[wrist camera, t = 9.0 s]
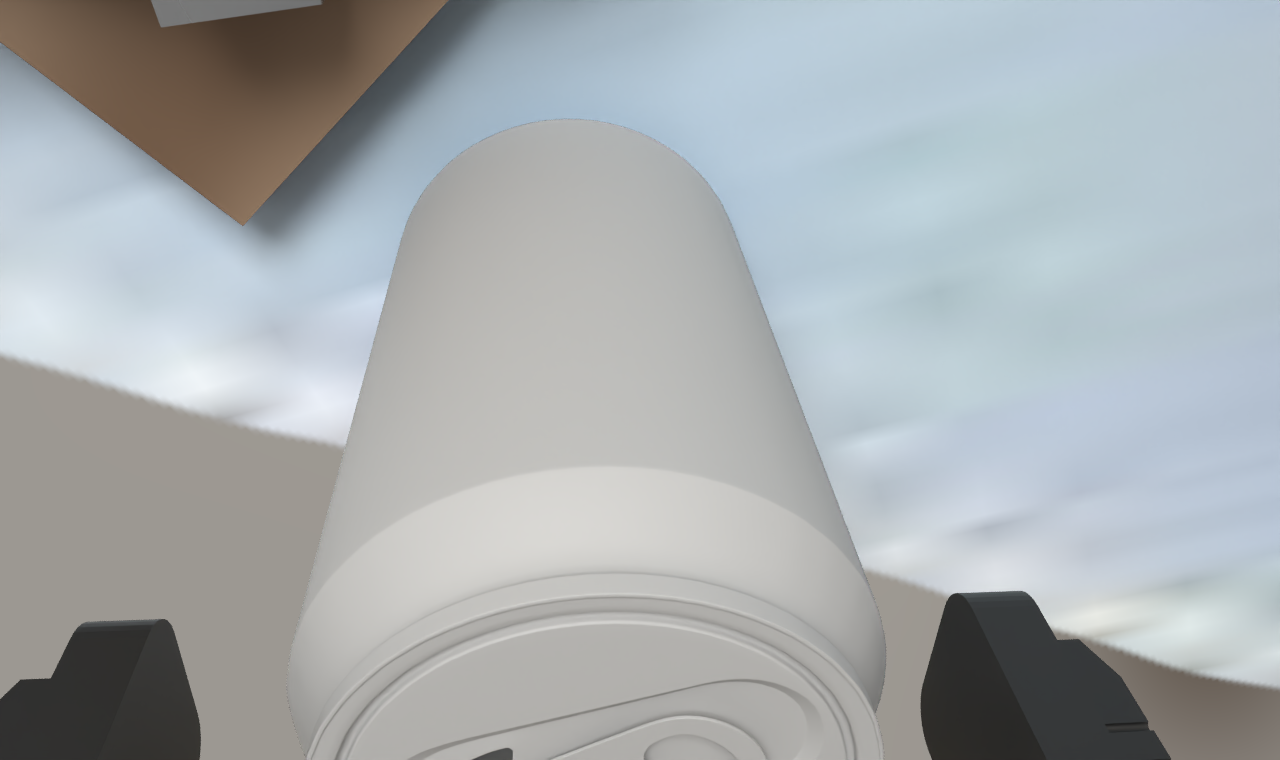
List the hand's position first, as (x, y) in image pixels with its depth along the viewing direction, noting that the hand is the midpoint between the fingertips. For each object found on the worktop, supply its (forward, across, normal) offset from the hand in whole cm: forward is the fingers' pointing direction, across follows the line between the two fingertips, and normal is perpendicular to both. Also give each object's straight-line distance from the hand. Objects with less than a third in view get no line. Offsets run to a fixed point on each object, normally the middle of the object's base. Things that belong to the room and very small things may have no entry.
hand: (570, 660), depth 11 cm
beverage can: (+11, 0, +1) cm, 11 cm away
